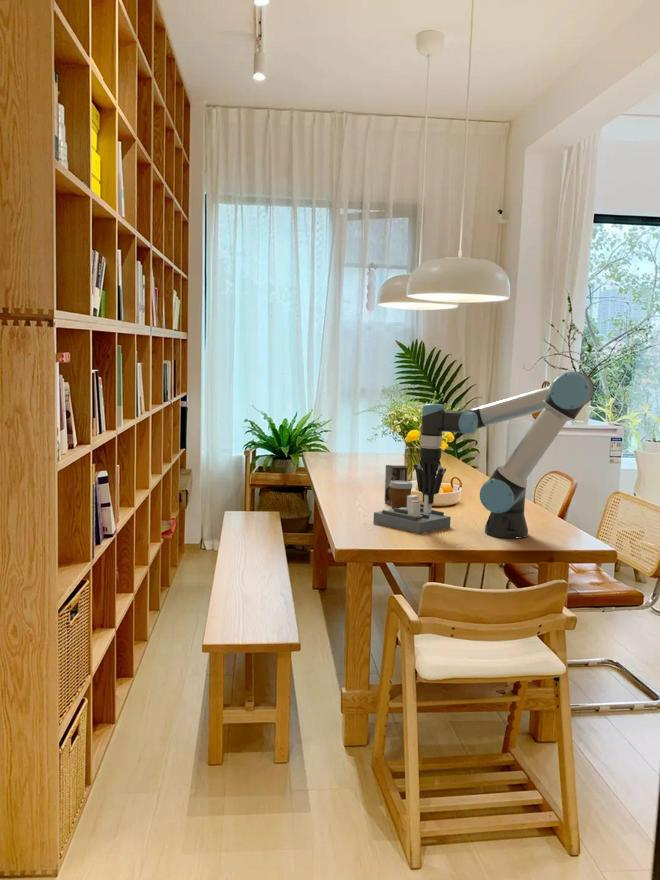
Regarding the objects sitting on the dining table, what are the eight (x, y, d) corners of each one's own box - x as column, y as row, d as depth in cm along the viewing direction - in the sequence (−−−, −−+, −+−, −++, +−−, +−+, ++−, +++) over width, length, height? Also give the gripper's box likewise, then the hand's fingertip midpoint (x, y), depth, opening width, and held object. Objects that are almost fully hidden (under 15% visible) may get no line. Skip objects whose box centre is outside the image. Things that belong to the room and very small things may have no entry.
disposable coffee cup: (391, 513, 302) (393, 483, 300) (385, 508, 311) (386, 480, 310) (414, 513, 304) (416, 484, 302) (407, 508, 313) (409, 480, 312)
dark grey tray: (450, 527, 280) (451, 501, 279) (419, 533, 267) (420, 506, 266) (404, 517, 295) (405, 492, 294) (373, 522, 283) (374, 496, 282)
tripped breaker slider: (422, 517, 275) (423, 501, 275) (413, 518, 272) (414, 502, 271) (413, 515, 278) (414, 499, 278) (405, 516, 275) (405, 501, 274)
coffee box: (404, 502, 328) (406, 465, 326) (405, 504, 322) (407, 467, 320) (383, 501, 328) (385, 464, 326) (384, 504, 322) (386, 466, 320)
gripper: (452, 448, 266) (448, 514, 269) (422, 444, 275) (419, 508, 278) (439, 449, 261) (435, 516, 263) (409, 445, 270) (406, 510, 272)
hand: (427, 512), depth 270 cm, fingers closed
